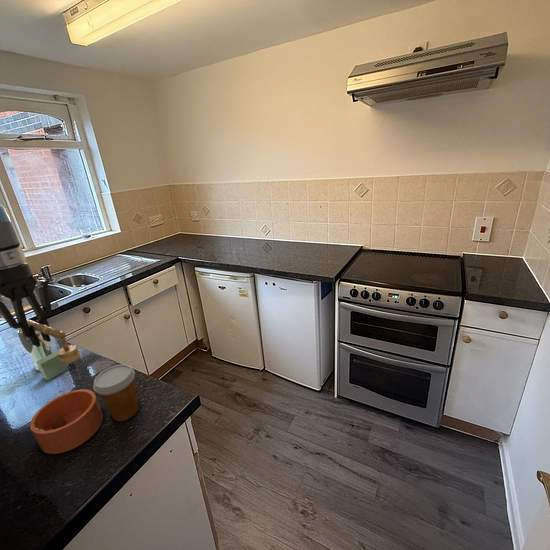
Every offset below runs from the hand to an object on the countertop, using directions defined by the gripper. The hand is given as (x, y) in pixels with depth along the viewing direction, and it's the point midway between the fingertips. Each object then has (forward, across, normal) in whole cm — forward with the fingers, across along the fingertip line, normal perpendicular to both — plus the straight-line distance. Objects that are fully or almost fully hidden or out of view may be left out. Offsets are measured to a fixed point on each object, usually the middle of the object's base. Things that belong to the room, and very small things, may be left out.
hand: (42, 342), depth 85 cm
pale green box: (+16, +3, +9) cm, 19 cm away
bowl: (+16, -8, -20) cm, 27 cm away
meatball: (+14, -9, -18) cm, 25 cm away
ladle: (+2, 0, -4) cm, 4 cm away
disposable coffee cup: (+16, +2, -28) cm, 33 cm away
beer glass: (+16, +4, +18) cm, 25 cm away
